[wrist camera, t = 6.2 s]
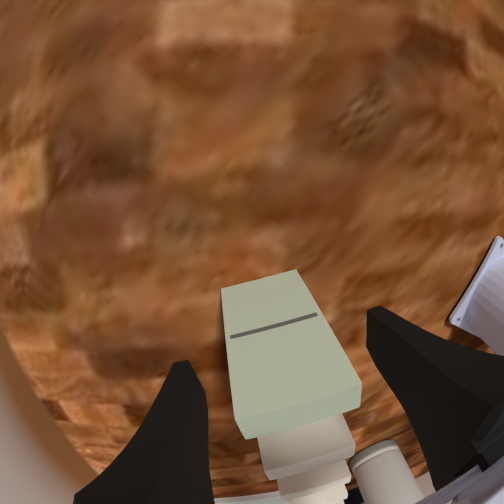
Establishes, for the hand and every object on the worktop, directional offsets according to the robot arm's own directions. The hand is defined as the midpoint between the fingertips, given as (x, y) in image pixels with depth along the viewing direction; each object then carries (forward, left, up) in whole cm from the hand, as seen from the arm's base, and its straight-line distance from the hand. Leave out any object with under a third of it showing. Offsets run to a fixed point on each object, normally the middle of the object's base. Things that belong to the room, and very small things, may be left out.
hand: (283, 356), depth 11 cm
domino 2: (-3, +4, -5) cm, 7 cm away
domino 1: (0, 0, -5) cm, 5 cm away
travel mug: (-24, +16, -5) cm, 30 cm away
